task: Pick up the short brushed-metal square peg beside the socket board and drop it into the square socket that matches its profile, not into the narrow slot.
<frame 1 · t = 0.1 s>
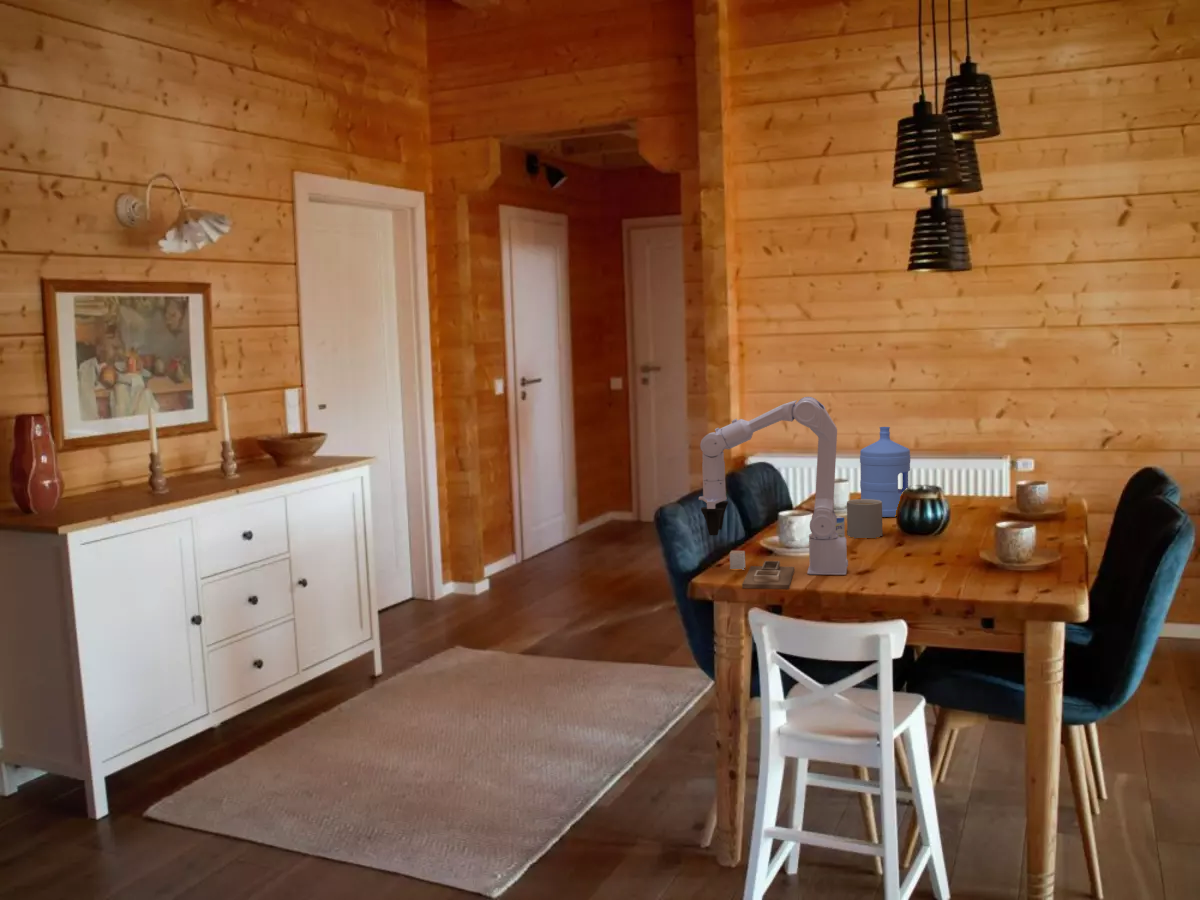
hand: (715, 532, 292), 10 cm above the table, tool pointing down, fingers open, 7 cm apart
socket board: (769, 579, 281), on the table
coffee mug: (865, 535, 333), on the table
medicine box: (828, 548, 316), on the table
square peg: (737, 569, 294), on the table
water jug: (885, 514, 365), on the table
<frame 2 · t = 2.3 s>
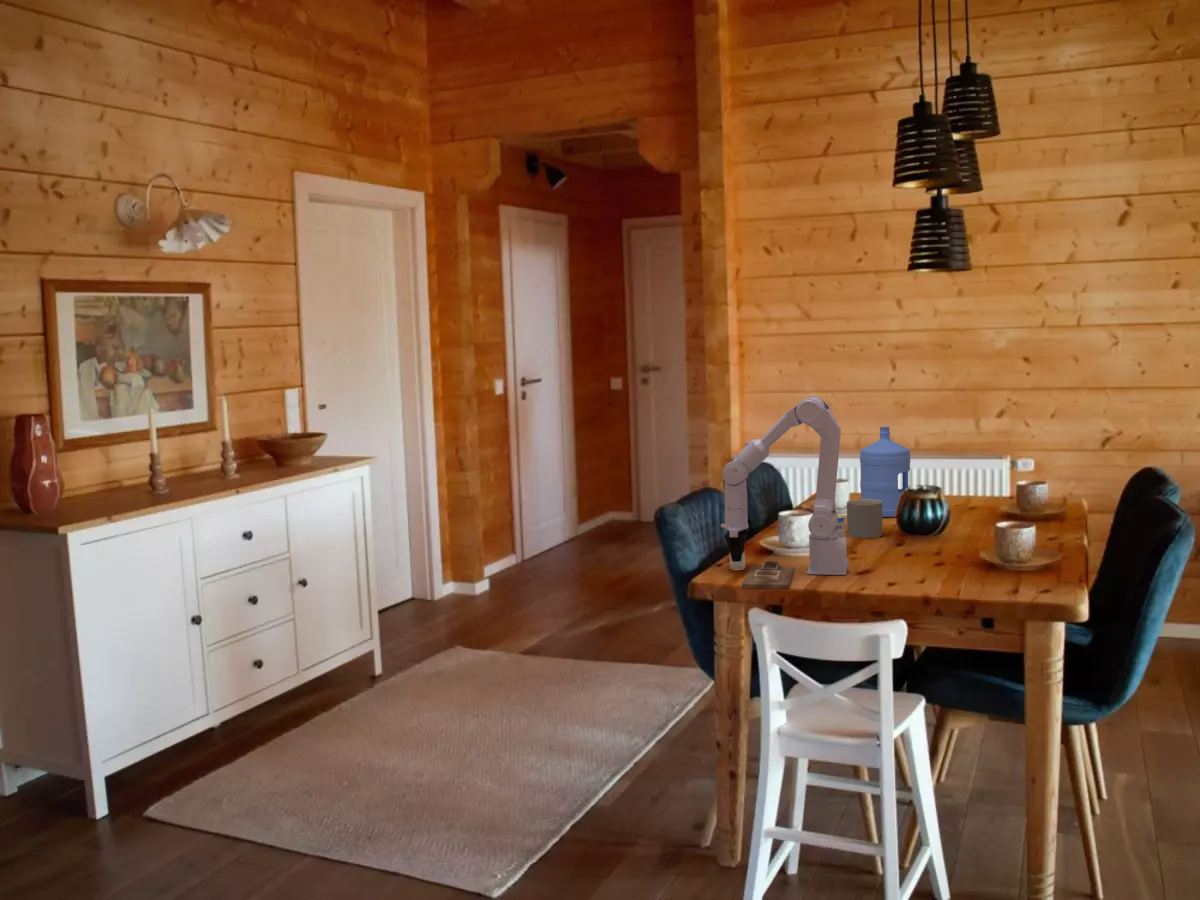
hand: (737, 559, 294), 2 cm above the table, tool pointing down, fingers closed on square peg, 3 cm apart
square peg: (737, 568, 294), on the table, touching gripper
everything else where it was.
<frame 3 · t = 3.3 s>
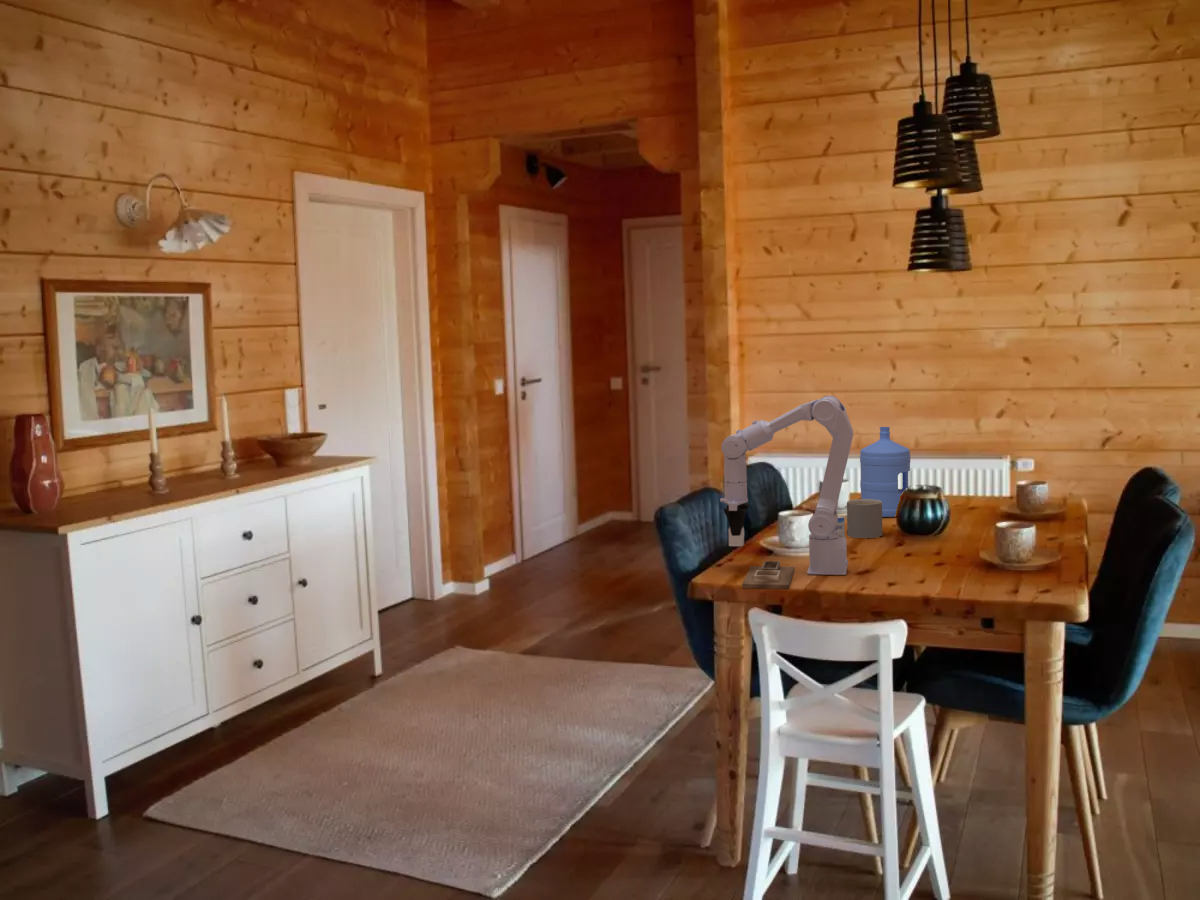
hand: (736, 533, 293), 9 cm above the table, tool pointing down, fingers closed on square peg, 3 cm apart
square peg: (736, 544, 293), point 6 cm above the table, touching gripper
everything else where it was.
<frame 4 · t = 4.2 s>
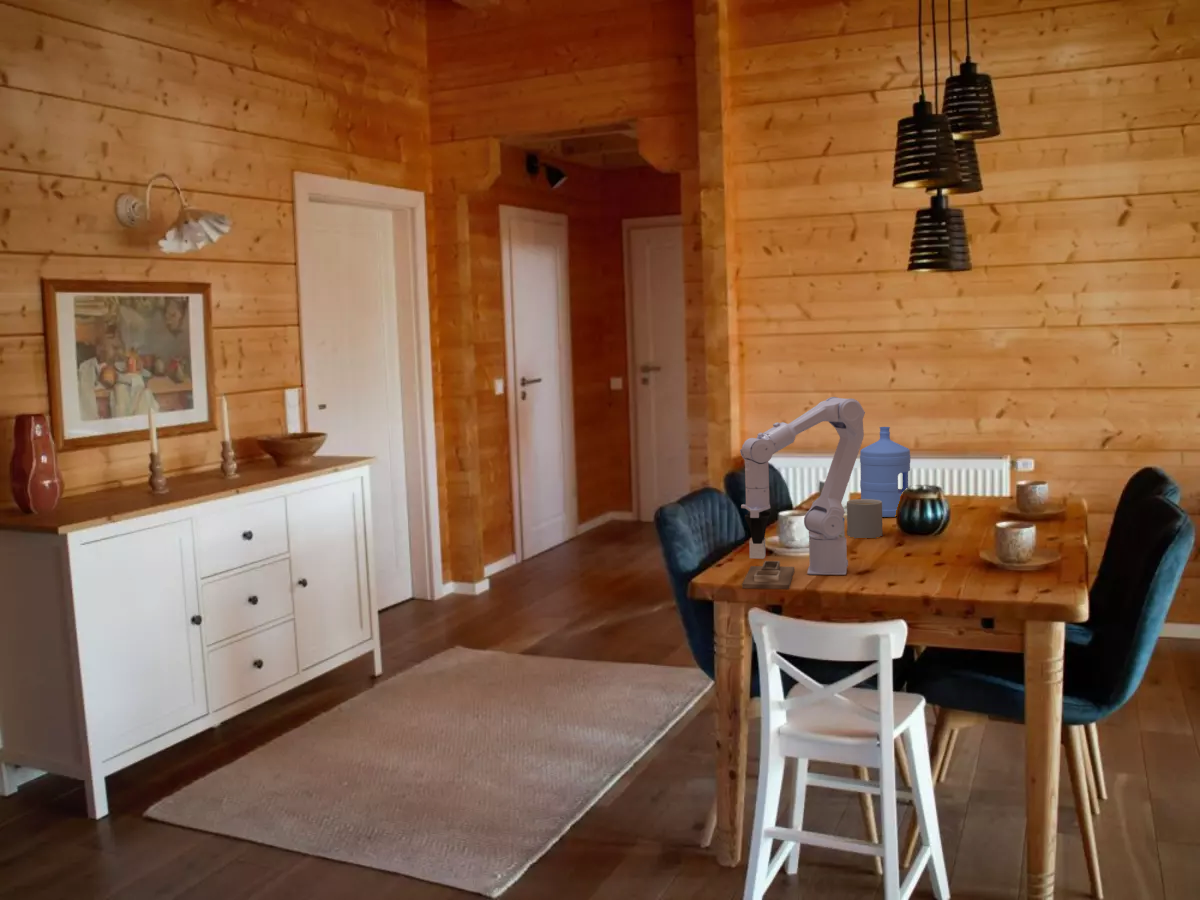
hand: (758, 541, 280), 9 cm above the table, tool pointing down, fingers closed on square peg, 3 cm apart
square peg: (757, 557, 281), point 6 cm above the table, touching gripper
everything else where it was.
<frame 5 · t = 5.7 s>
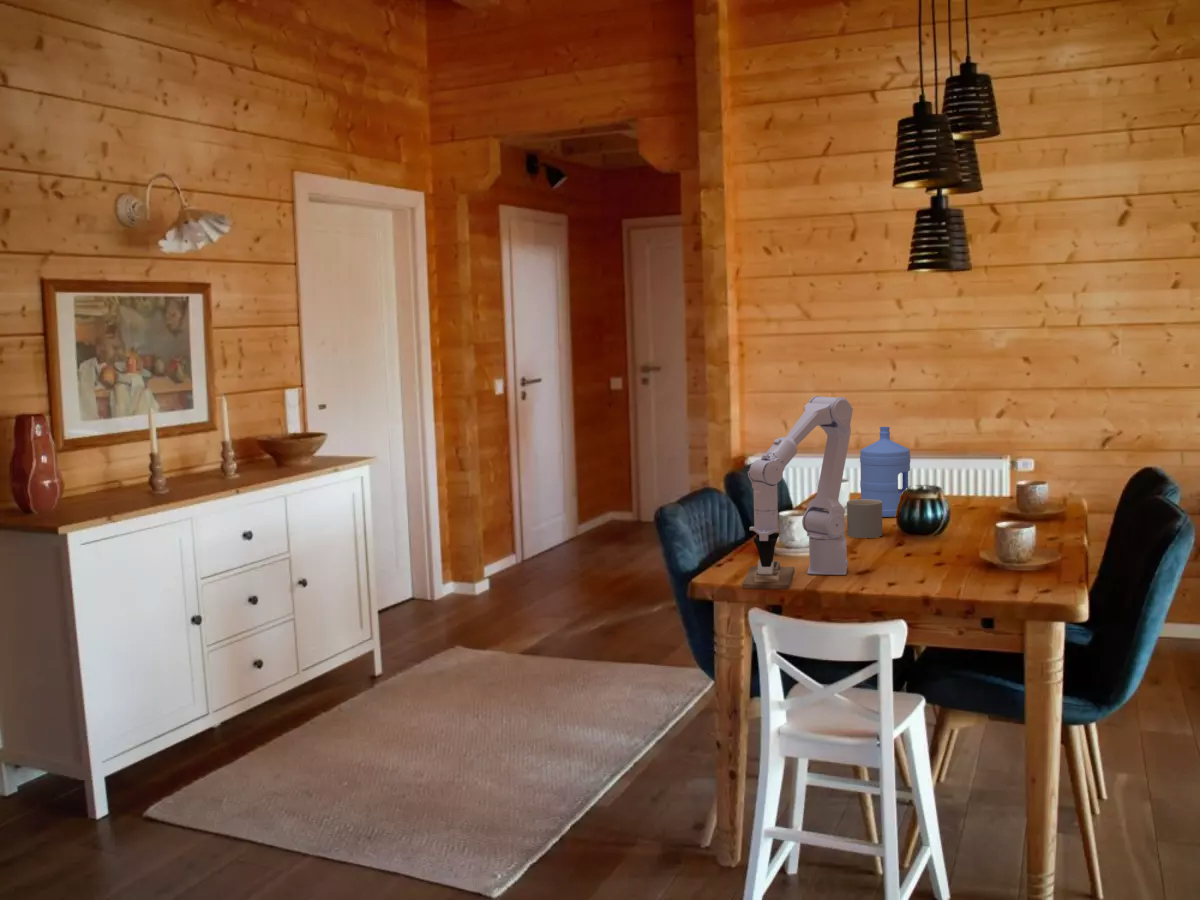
hand: (767, 564, 276), 5 cm above the table, tool pointing down, fingers closed on square peg, 3 cm apart
square peg: (765, 579, 277), point 1 cm above the table, touching gripper, socket board
everything else where it was.
when the fingers open (4 cm above the table, at t = 6.5 s): square peg stays where it is, resting on socket board.
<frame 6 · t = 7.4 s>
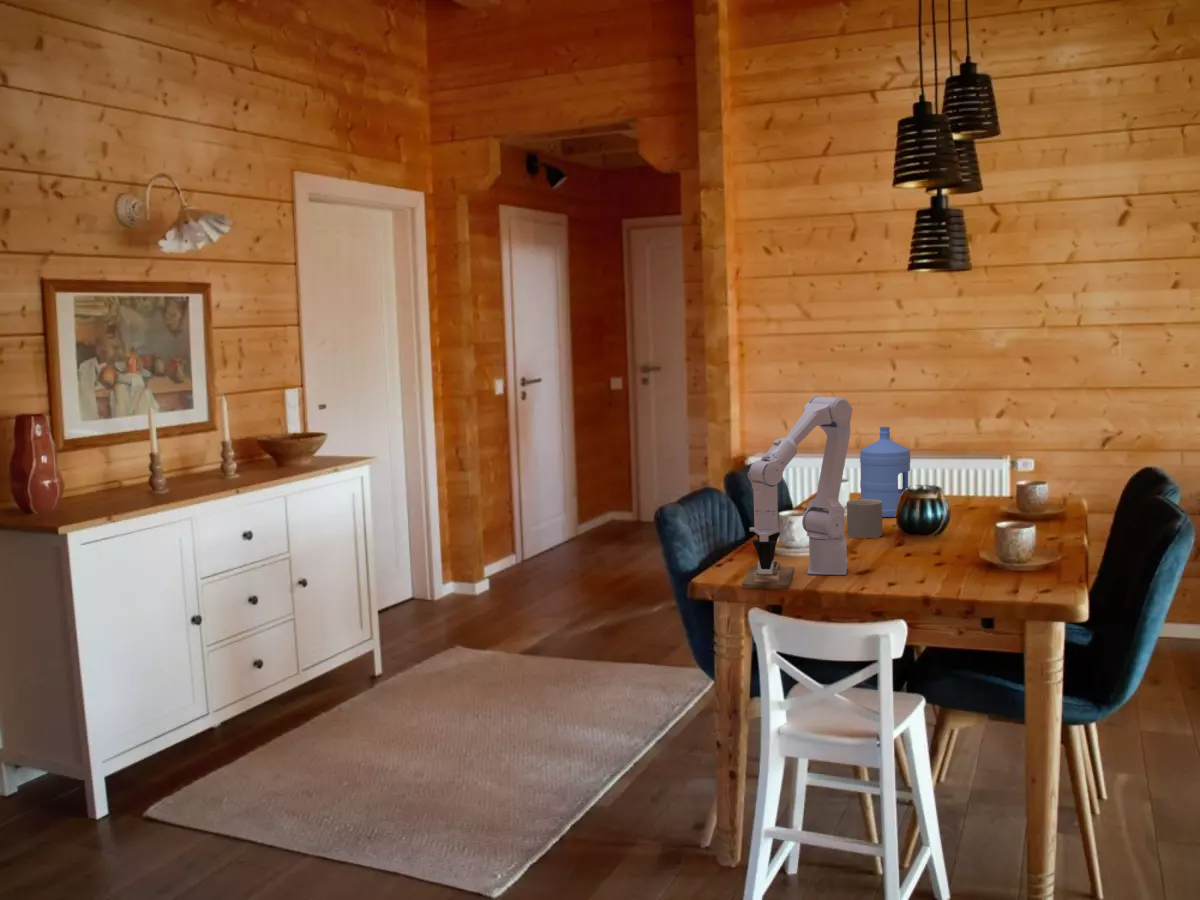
hand: (767, 565, 276), 4 cm above the table, tool pointing down, fingers open, 7 cm apart
square peg: (765, 579, 277), point 1 cm above the table, touching socket board
everything else where it was.
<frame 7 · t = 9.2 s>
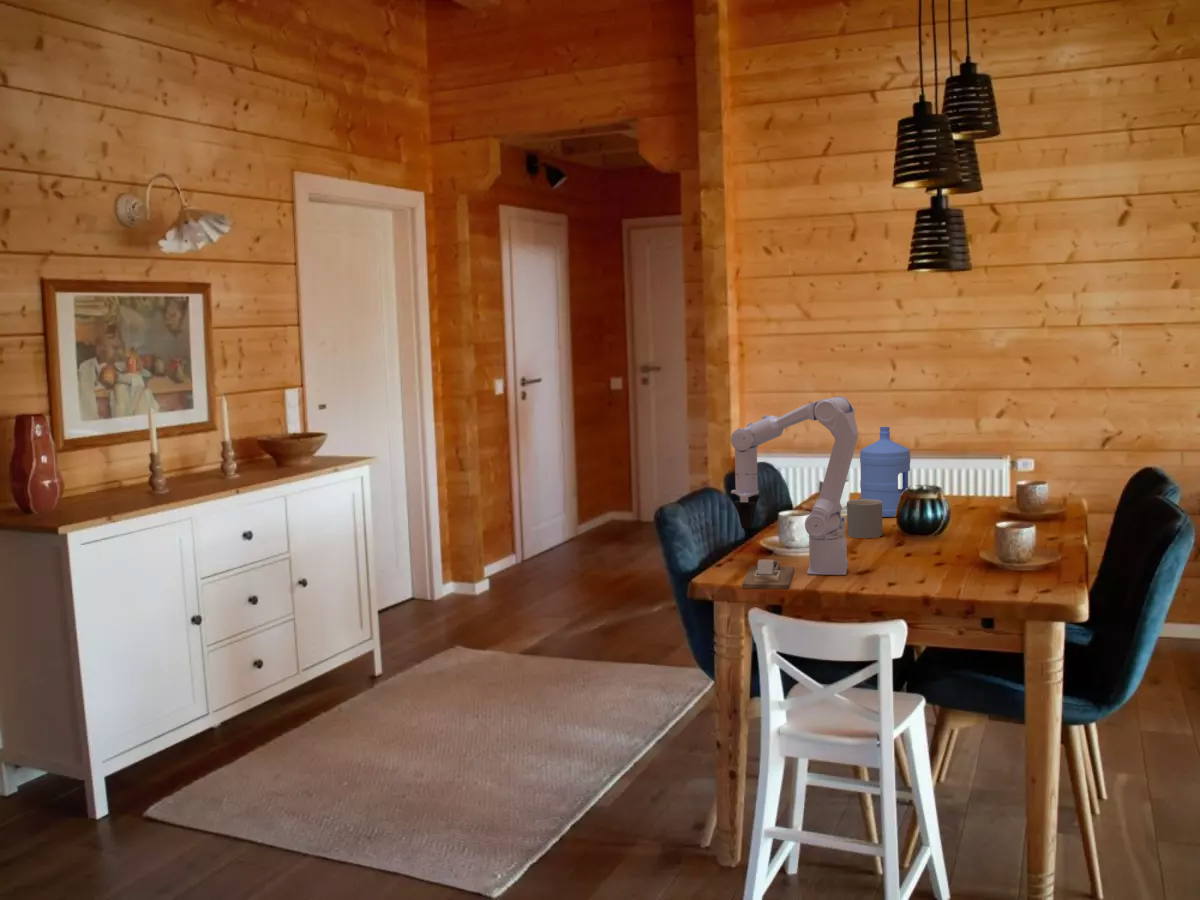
hand: (747, 525, 297), 10 cm above the table, tool pointing down, fingers open, 7 cm apart
nothing on the table moved.
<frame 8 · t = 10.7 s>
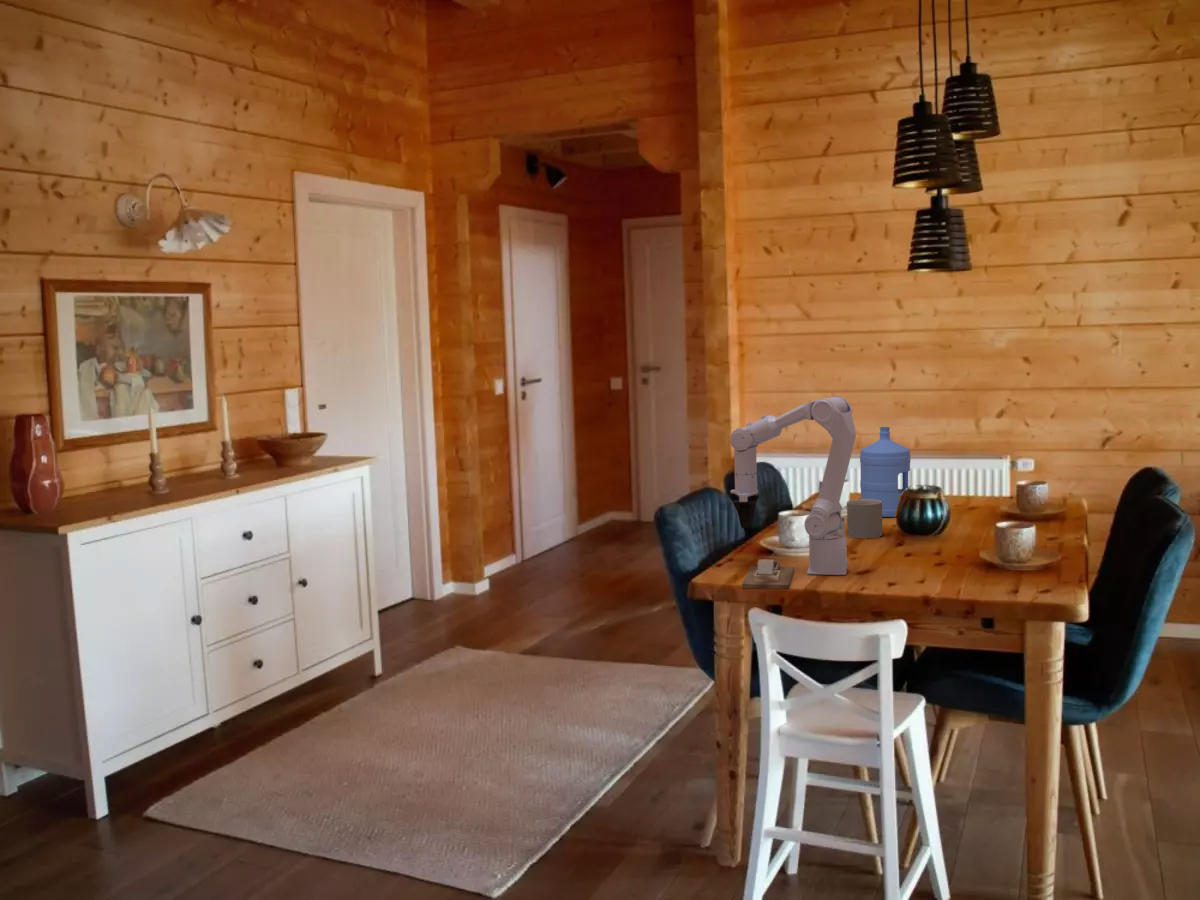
hand: (746, 525, 298), 10 cm above the table, tool pointing down, fingers open, 7 cm apart
nothing on the table moved.
at the end: square peg 0.4 cm from the target spot on the socket board, point 1.0 cm above the socket board's base; square peg tilted 0°; the gripper is holding nothing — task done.
